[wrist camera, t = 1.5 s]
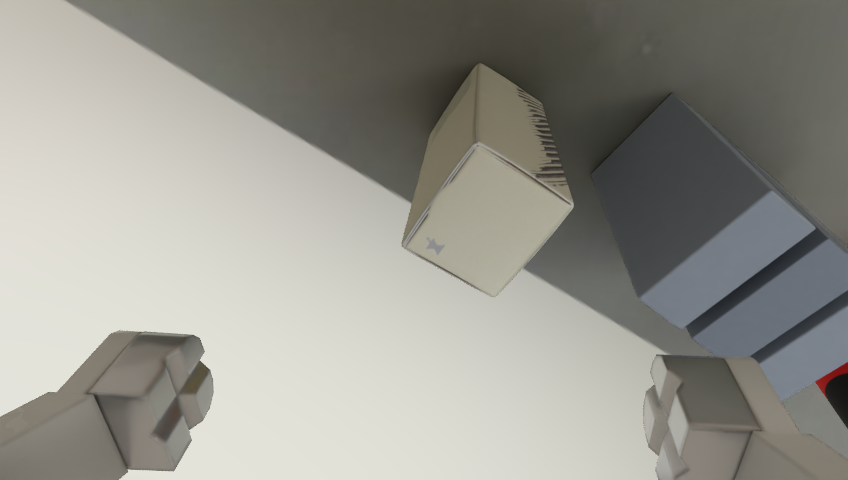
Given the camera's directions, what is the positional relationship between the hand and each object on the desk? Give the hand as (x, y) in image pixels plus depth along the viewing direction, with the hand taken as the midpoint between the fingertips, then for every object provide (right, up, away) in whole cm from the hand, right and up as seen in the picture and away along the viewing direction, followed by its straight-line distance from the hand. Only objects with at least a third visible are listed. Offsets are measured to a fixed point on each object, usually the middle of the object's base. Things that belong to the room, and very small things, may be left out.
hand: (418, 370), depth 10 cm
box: (+4, +9, +21) cm, 23 cm away
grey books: (+15, +6, +21) cm, 27 cm away
